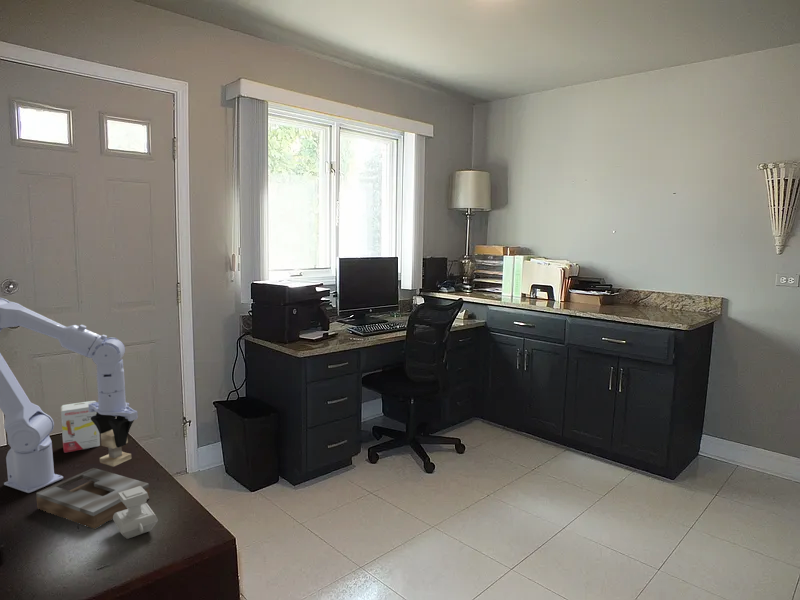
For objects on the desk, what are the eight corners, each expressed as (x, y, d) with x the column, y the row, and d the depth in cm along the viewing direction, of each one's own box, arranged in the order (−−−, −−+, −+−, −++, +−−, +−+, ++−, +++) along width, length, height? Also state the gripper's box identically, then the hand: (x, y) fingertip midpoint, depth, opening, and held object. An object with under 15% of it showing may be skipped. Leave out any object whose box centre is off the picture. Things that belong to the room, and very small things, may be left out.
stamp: (161, 535, 101) (158, 494, 100) (123, 548, 97) (121, 506, 95) (147, 516, 108) (144, 478, 106) (111, 527, 103) (109, 488, 102)
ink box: (63, 453, 137) (59, 410, 135) (63, 446, 141) (59, 405, 139) (100, 446, 142) (97, 404, 140) (99, 440, 146) (96, 399, 144)
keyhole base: (37, 508, 110) (36, 492, 109) (94, 482, 122) (93, 467, 121) (94, 529, 103) (93, 512, 102) (149, 498, 114) (148, 483, 114)
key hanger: (99, 462, 124) (97, 434, 123) (117, 455, 128) (116, 427, 127) (113, 466, 122) (111, 437, 121) (131, 458, 126) (129, 430, 126)
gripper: (147, 389, 124) (150, 443, 125) (106, 381, 129) (109, 433, 131) (121, 397, 117) (124, 454, 119) (78, 389, 123) (82, 443, 125)
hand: (114, 444), depth 125 cm, fingers closed on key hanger, 4 cm apart
